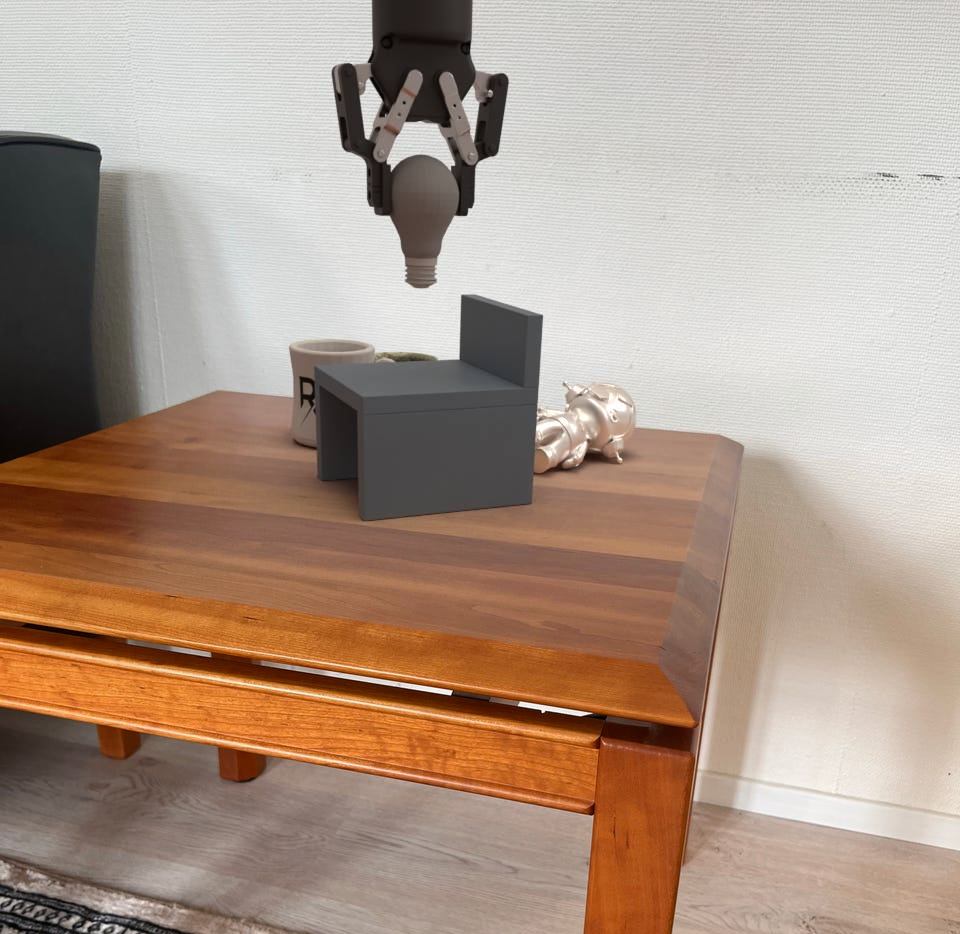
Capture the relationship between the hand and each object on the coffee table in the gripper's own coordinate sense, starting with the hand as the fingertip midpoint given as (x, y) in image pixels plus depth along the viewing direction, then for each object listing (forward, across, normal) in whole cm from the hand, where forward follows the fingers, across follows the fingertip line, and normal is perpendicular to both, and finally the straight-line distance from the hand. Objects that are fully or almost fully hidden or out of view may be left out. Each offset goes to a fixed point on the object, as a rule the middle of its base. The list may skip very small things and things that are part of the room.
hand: (421, 214), depth 82 cm
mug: (+24, 0, -22) cm, 32 cm away
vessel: (+24, -11, -35) cm, 44 cm away
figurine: (+24, -20, -8) cm, 33 cm away
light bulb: (+6, 0, 0) cm, 6 cm away
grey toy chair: (+24, -1, -3) cm, 24 cm away
